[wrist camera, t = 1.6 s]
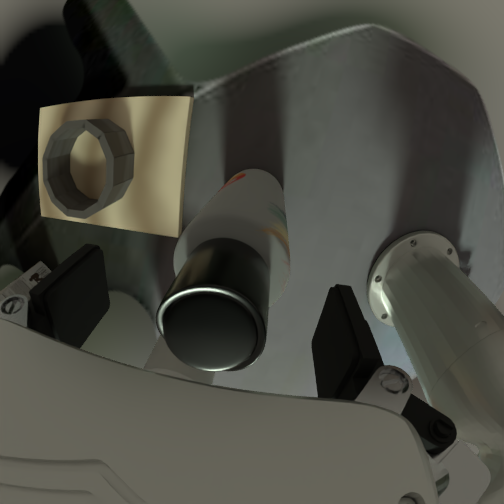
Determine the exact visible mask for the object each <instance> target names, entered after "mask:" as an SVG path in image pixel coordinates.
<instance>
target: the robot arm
mask: <svg viewBox="0 0 504 504" xmlns="http://www.w3.org/2000/svg"><path fill="white" fill-rule="evenodd" d="M29 294H30V298H31V299H30V300H29V301H28V299H27V298H26V297H25V296H24V295H20V294H16V295H11V296H9V297H7V298H5V299H4V300H2V301H1V303H0V504H504V316H503V314H502V313H501V312H500V311H499V310H498V309H497V308H496V306H495V305H494V304H493V303H492V302H491V301H490V300H489V299H488V298H487V296H486V295H485V294H484V293H483V292H482V291H481V290H480V289H479V288H478V287H477V286H476V285H475V284H474V283H473V282H472V281H471V280H470V279H469V278H468V277H467V276H466V275H465V274H464V273H463V272H462V271H461V270H460V269H459V258H458V254H457V252H456V250H455V248H454V246H453V245H452V244H451V242H450V241H448V240H447V239H446V238H445V237H443V236H442V235H440V234H438V233H436V232H432V231H417V232H412V233H409V234H407V235H404V236H402V237H400V238H399V239H397V240H396V241H394V242H393V243H392V244H391V245H389V246H388V247H387V248H386V249H385V250H384V251H383V253H382V254H381V255H380V256H379V257H378V259H377V261H376V262H375V264H374V266H373V267H372V270H371V273H370V275H369V279H368V283H367V298H368V303H369V305H370V307H371V310H372V312H373V313H374V315H375V316H376V317H377V319H378V320H380V321H381V322H383V323H384V324H386V325H389V326H392V327H395V328H396V330H397V332H398V335H399V337H400V339H401V341H402V343H403V345H404V347H405V350H406V352H407V354H408V356H409V358H410V361H411V363H412V365H413V367H414V370H415V372H416V374H417V377H418V379H419V382H420V384H421V387H422V389H423V391H424V394H425V397H426V399H427V402H428V404H429V405H428V404H427V403H425V402H424V401H422V400H420V399H419V398H417V397H416V396H414V395H413V394H411V392H412V388H413V384H412V380H411V378H410V376H409V375H408V374H407V373H406V372H405V371H404V370H402V369H401V368H398V367H396V366H391V365H385V366H384V363H383V361H382V358H381V355H380V353H379V350H378V347H377V345H376V342H375V340H374V337H373V335H372V332H371V330H370V327H369V325H368V323H367V321H366V320H365V319H364V317H363V314H362V312H361V309H360V307H359V304H358V302H357V300H356V297H355V295H354V293H353V290H352V288H351V286H347V285H340V284H336V285H335V287H331V288H330V289H329V292H328V295H327V298H326V301H325V304H324V307H323V310H322V313H321V316H320V319H319V322H318V325H317V328H316V330H315V333H314V336H313V339H312V353H313V361H314V368H315V376H316V384H317V392H318V398H317V397H305V396H292V395H282V394H274V393H265V392H257V391H249V390H242V389H235V388H229V387H223V386H217V385H212V384H207V383H202V382H197V381H192V380H187V379H182V378H178V377H174V376H169V375H165V374H161V373H157V372H153V371H149V370H146V369H142V368H138V367H135V366H131V365H127V364H125V363H121V362H118V361H115V360H111V359H108V358H105V357H102V356H99V355H96V354H93V353H90V352H88V351H85V350H82V349H80V347H81V346H82V345H83V343H84V342H85V341H86V339H87V338H88V336H89V335H90V334H91V332H92V331H93V330H94V328H95V327H96V326H97V324H98V323H99V321H100V320H101V319H102V317H103V316H104V315H105V314H106V312H107V311H108V309H109V306H110V300H109V294H108V287H107V280H106V273H105V265H104V256H103V251H102V250H101V249H100V247H99V246H98V245H92V244H85V245H84V246H83V247H81V248H80V249H79V250H77V251H76V252H75V253H74V254H72V255H71V256H70V257H69V258H67V259H66V260H65V261H64V262H62V263H61V264H60V265H59V266H58V267H56V268H55V269H54V270H53V271H52V272H50V273H49V274H48V275H47V276H46V277H45V278H43V279H42V280H41V281H40V282H39V283H38V284H36V285H35V286H34V287H33V288H32V289H31V290H30V291H29ZM457 439H458V440H460V441H458V440H457ZM465 442H468V443H471V444H473V445H475V446H476V447H477V448H478V449H479V453H478V455H476V454H475V453H474V452H473V451H472V450H471V449H470V448H469V447H468V446H467V444H466V443H465Z"/></svg>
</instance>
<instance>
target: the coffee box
mask: <svg viewBox="0 0 504 504" xmlns="http://www.w3.org/2000/svg"><path fill="white" fill-rule="evenodd" d="M50 272H52V271H51V270H50V269H49V268H48V267H47V266H46V265H45V264H44V263H43V262H42V261H40V262H38V263H37V264H36V265H34V266H33V267H31V268H30V269H29V270H27V271H26V272H25V273H23V274H22V275H21V276H20V277H18V278H17V279H16V280H14V281H13V282H12V283H11V284H9V285H8V286H7V287H6V288H4V289H3V290H2V291H1V292H0V303H1V301H2V300H4V299H5V298H7V297H9V296H11V295H16V294H20V295H24V296H25V297H26V298H27V299H28V301H29V300H30V299H31V298H30V294H29V291H30V290H31V289H32V288H33V287H34V286H35V285H36V284H38V283H39V282H40V281H41V280H42V279H43V278H45V277H46V276H47V275H48V274H49V273H50Z"/></svg>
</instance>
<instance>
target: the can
mask: <svg viewBox="0 0 504 504" xmlns="http://www.w3.org/2000/svg"><path fill="white" fill-rule="evenodd" d="M143 369H146V370H149V371H153V372H157V373H161V374H165V375H169V376H174V377H178V378H182V379H187V380H192V381H197V382H202V383H207V384H212V383H213V378H214V374H215V372H211V371H203V370H199V369H195V368H193V367H190V366H188V365H186V364H185V363H183V362H182V361H180V360H179V359H178V358H177V357H176V356H175V355H174V354H173V353H172V352H171V351H170V349H169V348H168V346H167V344H166V342H165V340H164V338H163V337H162V336H161V335H160V337H159V338H158V340H157V342H156V344H155V346H154V348H153V350H152V353H151V354H150V356H149V358H148V360H147V362H146V364H145V366H144V368H143Z"/></svg>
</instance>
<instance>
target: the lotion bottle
mask: <svg viewBox="0 0 504 504" xmlns="http://www.w3.org/2000/svg"><path fill="white" fill-rule="evenodd" d="M174 271H175V275H176V278H175V280H174V281H173V283H172V285H171V286H170V288H169V290H168V292H167V293H166V295H165V297H164V298H163V300H162V302H161V304H160V306H159V308H158V310H157V313H156V325H157V328H158V330H159V332H160V334H161V336H162V337H163V338H164V340H165V342H166V344H167V346H168V348H169V349H170V351H171V352H172V353H173V354H174V355H175V356H176V357H177V358H178V359H179V360H180V361H182V362H183V363H185V364H186V365H188V366H190V367H193V368H195V369H199V370H203V371H211V372H217V371H237V370H242V369H245V368H247V367H249V366H250V365H252V364H253V363H255V362H256V361H257V359H258V358H259V357H260V355H261V354H262V352H263V350H264V347H265V343H266V336H267V325H268V310H269V307H270V306H272V305H273V304H274V303H275V302H276V301H277V300H278V299H279V298H280V296H281V295H282V293H283V292H284V290H285V288H286V285H287V282H288V279H289V274H290V253H289V241H288V231H287V221H286V212H285V202H284V195H283V191H282V188H281V186H280V184H279V182H278V181H277V179H276V178H275V177H274V176H273V175H271V174H270V173H268V172H266V171H263V170H260V169H247V170H244V171H241V172H239V173H237V174H236V175H234V176H233V177H232V178H231V179H230V180H229V181H228V182H227V183H226V184H225V185H224V186H223V187H222V188H221V189H220V190H219V191H218V193H217V194H216V195H215V196H214V197H213V198H212V199H211V200H210V201H209V202H208V203H207V204H206V206H205V207H204V208H203V209H202V210H201V211H200V212H199V213H198V214H197V216H196V217H195V218H194V219H193V220H192V221H191V222H190V224H189V225H188V226H187V227H186V229H185V230H184V231H183V233H182V234H181V236H180V238H179V240H178V242H177V245H176V248H175V252H174Z"/></svg>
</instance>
